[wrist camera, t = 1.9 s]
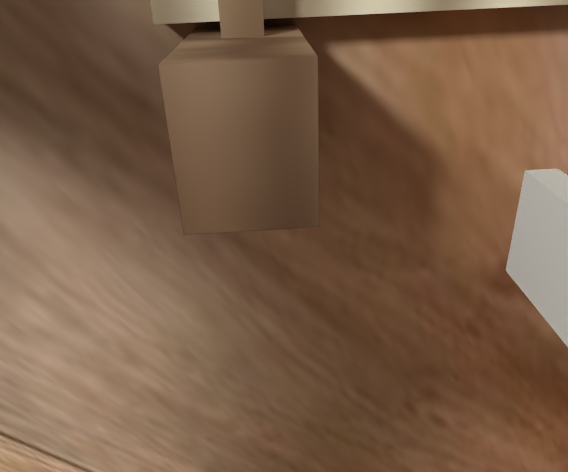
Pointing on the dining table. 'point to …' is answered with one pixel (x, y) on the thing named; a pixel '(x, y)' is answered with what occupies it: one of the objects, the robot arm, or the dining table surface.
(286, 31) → the brown block with handle
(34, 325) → the dining table surface
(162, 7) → the board
